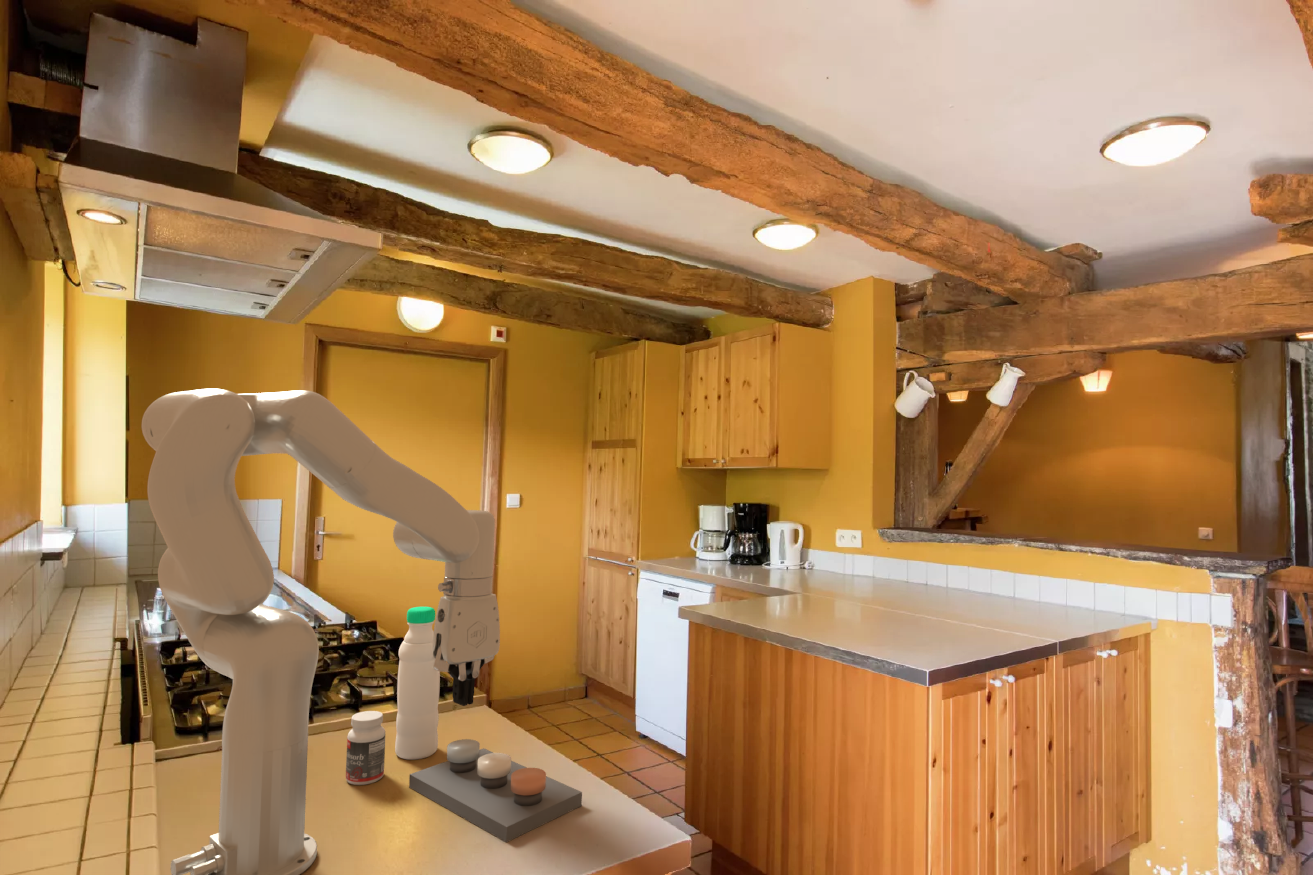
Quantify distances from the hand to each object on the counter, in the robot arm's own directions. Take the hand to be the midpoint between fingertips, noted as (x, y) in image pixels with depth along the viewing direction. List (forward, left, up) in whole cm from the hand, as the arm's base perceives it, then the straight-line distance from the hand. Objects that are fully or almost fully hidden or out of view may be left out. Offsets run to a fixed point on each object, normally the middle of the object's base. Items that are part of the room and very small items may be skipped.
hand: (462, 702), depth 115 cm
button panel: (0, -8, -12) cm, 15 cm away
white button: (0, -8, -9) cm, 12 cm away
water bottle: (+1, +15, -13) cm, 20 cm away
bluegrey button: (0, 0, -9) cm, 9 cm away
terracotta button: (0, -16, -9) cm, 18 cm away
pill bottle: (-10, +12, -13) cm, 20 cm away
